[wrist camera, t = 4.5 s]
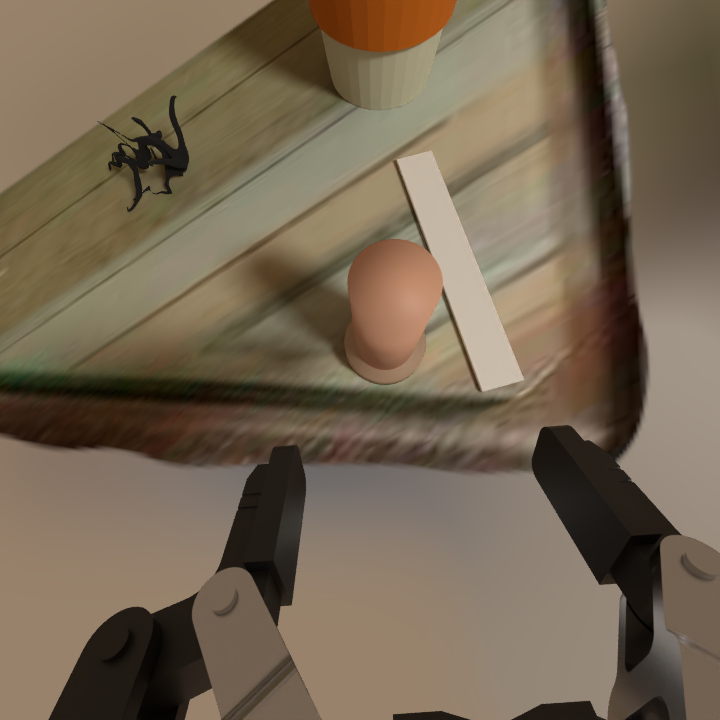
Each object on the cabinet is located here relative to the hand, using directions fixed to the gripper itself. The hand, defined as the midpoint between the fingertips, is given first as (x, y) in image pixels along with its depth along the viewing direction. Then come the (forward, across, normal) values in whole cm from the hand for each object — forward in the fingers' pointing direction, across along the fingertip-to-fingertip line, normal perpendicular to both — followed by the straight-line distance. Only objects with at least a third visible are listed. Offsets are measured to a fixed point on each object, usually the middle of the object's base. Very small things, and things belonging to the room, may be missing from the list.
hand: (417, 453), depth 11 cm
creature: (+25, +18, -8) cm, 32 cm away
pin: (+13, 0, +3) cm, 13 cm away
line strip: (+17, -6, -1) cm, 18 cm away
